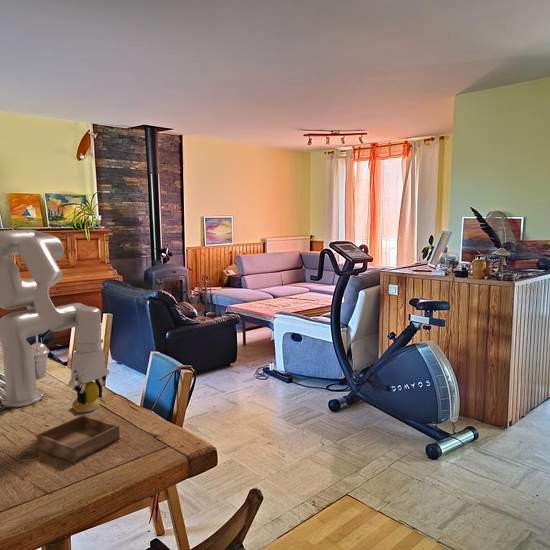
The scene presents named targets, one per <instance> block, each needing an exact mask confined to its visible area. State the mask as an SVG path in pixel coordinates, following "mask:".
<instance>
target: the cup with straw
mask: <svg viewBox="0 0 550 550" xmlns="http://www.w3.org/2000/svg"><path fill="white" fill-rule="evenodd" d="M30 345H31V346H32V348H33V351H34V361H35V375H36V379H41V378H44V377H47V366H48V365H47V363H48V355H49V353H50V348H48V347H47V346H46V344H44V343H43V342H39V336H38V335H35V343H33V344H30Z"/></svg>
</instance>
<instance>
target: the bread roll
mask: <svg viewBox="0 0 550 550" xmlns="http://www.w3.org/2000/svg"><path fill="white" fill-rule="evenodd" d="M71 406H72V408H73V410H75V412H76V413H89V412H92V411H95V410H97V409H98V408H99V407H100V401H99V400H98V399H97V400H96V401H94V402H92V403H91V404H88V403H86V404H84V405H83V404H80V403H78V401H77V398H75V399H74V400H73V402H72V405H71Z"/></svg>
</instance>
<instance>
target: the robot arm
mask: <svg viewBox="0 0 550 550" xmlns="http://www.w3.org/2000/svg"><path fill="white" fill-rule="evenodd" d="M64 253H65V247H64V244H63V243H62V241H61V240H60V239H59V238H58V237H57V236H56V235H52V234H49V233H45V232H41V231H38V230H36V229H13V230H12V229H8V230H5V229H4V230H0V309H3V310H14V309H19V308H24V307H25V308H26V309H27V310H20V311H15V312H11V313H8V314H5V315H3V316H2V317H0V345H1V350H2V351H1V352H2V358H3V371H4V383H5V385H4V386H5V388H4V387H3V389H2V391H3V392H4V393H5V397H3V398H2V399H1V405H2V406H4V407H7V408H19V407H24V406H29V405H32V404H35V403H37V402H39V401H40V400H41V399H42V398H43V394H42V392H40V391H37V378H36V375H35V361H34V351H33V348H32V346H31V345H32V344H30V342H29V341H28V340H27V338H31V337H34V336H35V337H36V335H41V334H44V333H46V332H48V331H51V332H60V331H65V330H67V329H72V328H75V351H74V352H73V354H72V358H71V369H70V372H71V373H70V377H71V378H70V379H69V382H68V383H67V386H68V387H69V388H71V389H72V390H74V391H75V392H76V396H77V397H76V399H77V401H78V403H80V404H83V405H84V404H86V393H85V392H84V389H85V385H86V383H88V382H91V381H93V382H95V383H96V384H97V385H98V388H99V396H98V398H99V399H102V397H103V386H104V383H105V381H106V379H107V377H108V375H109V374H110V372H111V371H110V370H109V369H108V368H107V367H106V358H105V357H106V356H105V353H104V348H103V347H102V344H103V343H104V339H103V338H102V312H101V309H99V308H98V307H95V306H88V305H85V304H83V303H81V302H74V303H69V304H64V305H60V306H55V305H54V303H53V301H52V300H51V297H50V289H51V288H52V287H54V286H55V285H56V284H57V283H59V282H60V281H61V279H62V278H63V272H62V270H61V269H60V267H59V265H58V264H57V262H56V260H60V259H61V258H62V257H63V256H64ZM10 256H20V259H21V260H22V262H23V263H24V265H25V266H26V268H27V270H28V272H29V274H30V275H31V277H32V278H26V279H22V277H21V274H20V273H21V272H20V269H19V266H18V265H17V264H16V262H15V261H14V260H13V259H12V258H11V257H10Z"/></svg>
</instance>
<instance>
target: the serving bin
mask: <svg viewBox="0 0 550 550" xmlns="http://www.w3.org/2000/svg"><path fill="white" fill-rule="evenodd" d="M120 435H121V434H120V425H118V424H114V423H111V422H107V421H104V420H101V419H98V418H95V417H92V416H89V415H86V414H83V415H80V416H77V417H75V418H73V419H70V420H69V421H66V422H64V423H62V424H60V425H57V426H54V427H52V428H50V429H48V430H46V431H44V432H41V433H38V434H36V446H37V447H36V448H37V449H38V450H40V451H42V452H45V453H48V454H50V455H53V456H54V457H55V456H56V457H58V458H61V459H62V460H65V461H68V462H71V463H74V464H75V463H77V462H78V461H80V460H82V459H85V458H86V457H88V456H90V455H91V454H93V453H96V452H98V451H100V450H101V449H103V448H105V447H107V446H108V445H111V444H112V443H114V442H117V441H119V440H120Z"/></svg>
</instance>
